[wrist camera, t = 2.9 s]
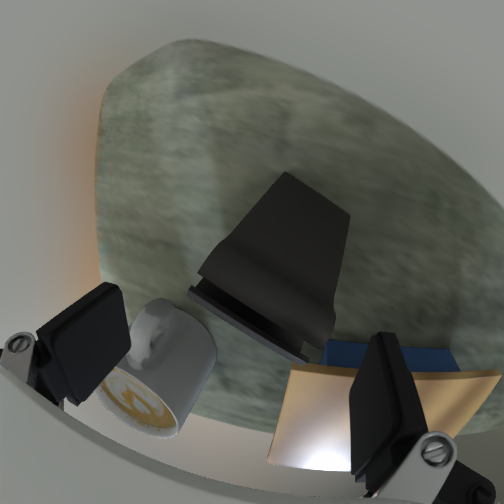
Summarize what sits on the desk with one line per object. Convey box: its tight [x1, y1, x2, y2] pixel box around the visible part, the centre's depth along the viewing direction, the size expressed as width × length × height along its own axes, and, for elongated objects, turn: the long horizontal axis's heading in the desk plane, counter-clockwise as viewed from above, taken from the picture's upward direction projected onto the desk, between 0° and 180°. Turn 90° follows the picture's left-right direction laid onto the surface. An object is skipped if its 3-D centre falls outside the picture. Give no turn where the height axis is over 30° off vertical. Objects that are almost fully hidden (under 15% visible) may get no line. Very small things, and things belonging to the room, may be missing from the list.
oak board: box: [266, 362, 502, 471], centre depth 19 cm, size 20×16×1 cm
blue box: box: [320, 339, 461, 372], centre depth 22 cm, size 14×12×6 cm
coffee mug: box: [93, 298, 217, 438], centre depth 23 cm, size 13×10×10 cm
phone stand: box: [187, 172, 350, 366], centre depth 16 cm, size 9×6×12 cm, turn 149°
